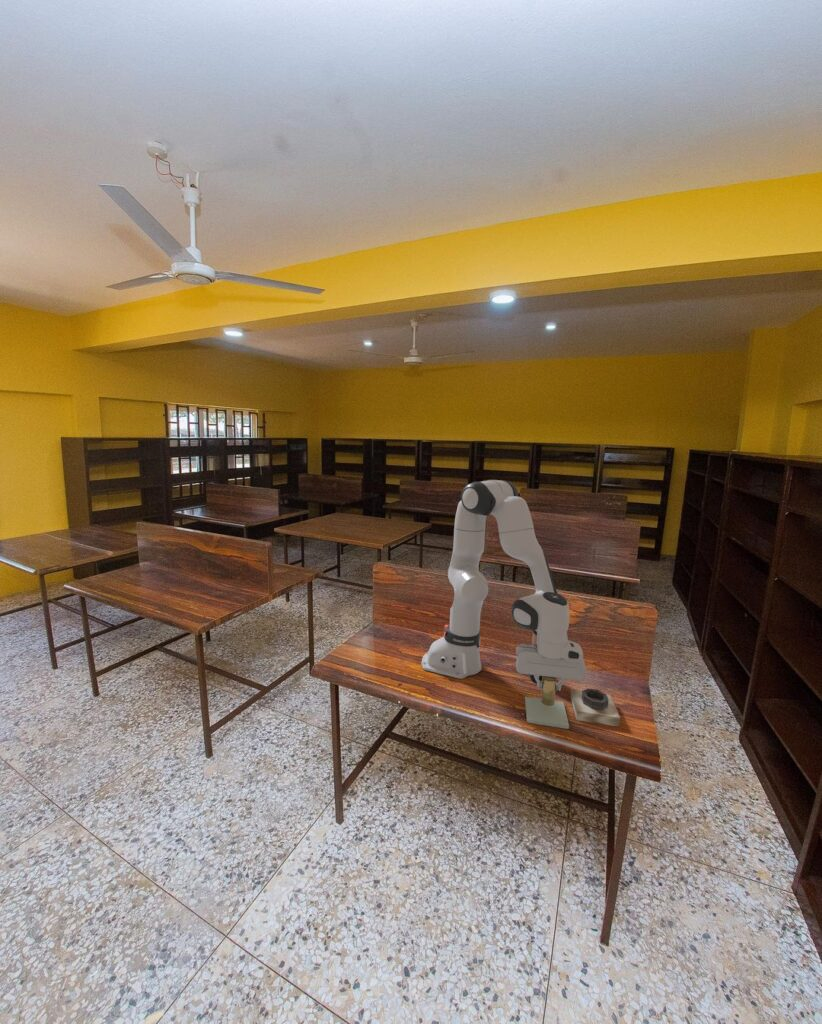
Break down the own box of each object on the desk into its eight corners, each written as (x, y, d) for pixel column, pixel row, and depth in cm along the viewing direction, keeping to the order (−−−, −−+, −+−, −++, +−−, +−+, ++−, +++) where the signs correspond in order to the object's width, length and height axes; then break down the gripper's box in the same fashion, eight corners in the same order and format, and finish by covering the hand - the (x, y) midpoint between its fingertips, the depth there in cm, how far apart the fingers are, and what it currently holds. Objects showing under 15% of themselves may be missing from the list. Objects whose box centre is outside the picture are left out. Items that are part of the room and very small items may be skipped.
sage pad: (526, 722, 126) (527, 719, 126) (524, 699, 137) (525, 696, 137) (568, 729, 123) (569, 726, 123) (563, 705, 135) (563, 702, 135)
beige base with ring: (576, 720, 127) (578, 703, 127) (570, 697, 139) (572, 682, 138) (619, 726, 125) (621, 709, 124) (609, 703, 137) (610, 687, 136)
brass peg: (541, 705, 128) (543, 678, 127) (540, 697, 132) (541, 670, 130) (555, 706, 127) (557, 679, 126) (553, 698, 131) (555, 672, 130)
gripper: (516, 647, 126) (514, 689, 128) (588, 655, 121) (585, 698, 124) (515, 638, 132) (513, 678, 134) (584, 645, 128) (581, 686, 130)
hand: (548, 688), depth 129 cm, fingers closed on brass peg, 4 cm apart
